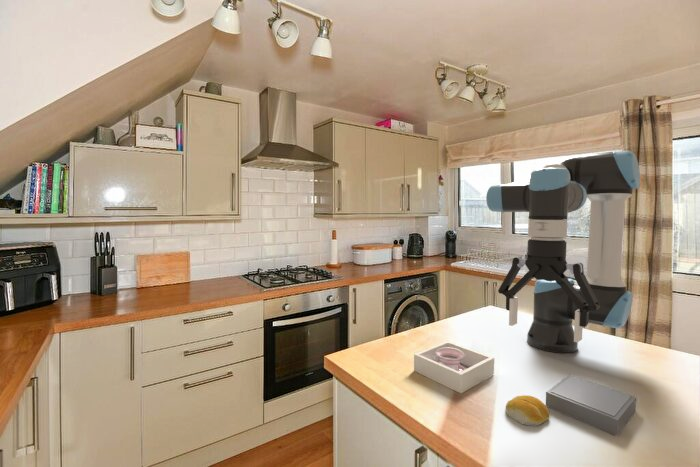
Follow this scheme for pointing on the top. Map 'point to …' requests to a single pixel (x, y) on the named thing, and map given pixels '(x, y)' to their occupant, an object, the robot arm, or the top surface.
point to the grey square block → (592, 403)
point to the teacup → (450, 357)
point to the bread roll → (527, 410)
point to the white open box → (456, 380)
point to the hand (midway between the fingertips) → (543, 332)
